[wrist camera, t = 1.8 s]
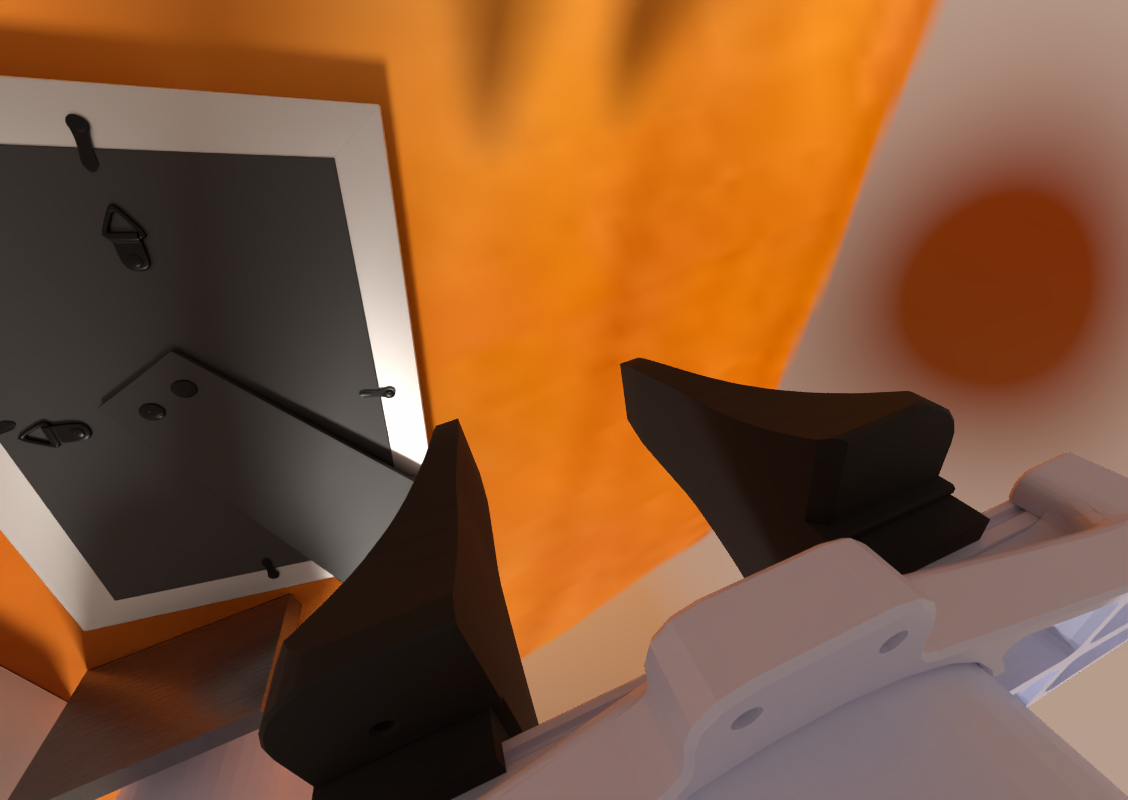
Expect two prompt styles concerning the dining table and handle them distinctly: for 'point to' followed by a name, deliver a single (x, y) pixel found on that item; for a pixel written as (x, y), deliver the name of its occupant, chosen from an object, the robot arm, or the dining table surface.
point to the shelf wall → (22, 726)
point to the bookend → (161, 706)
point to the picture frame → (198, 343)
